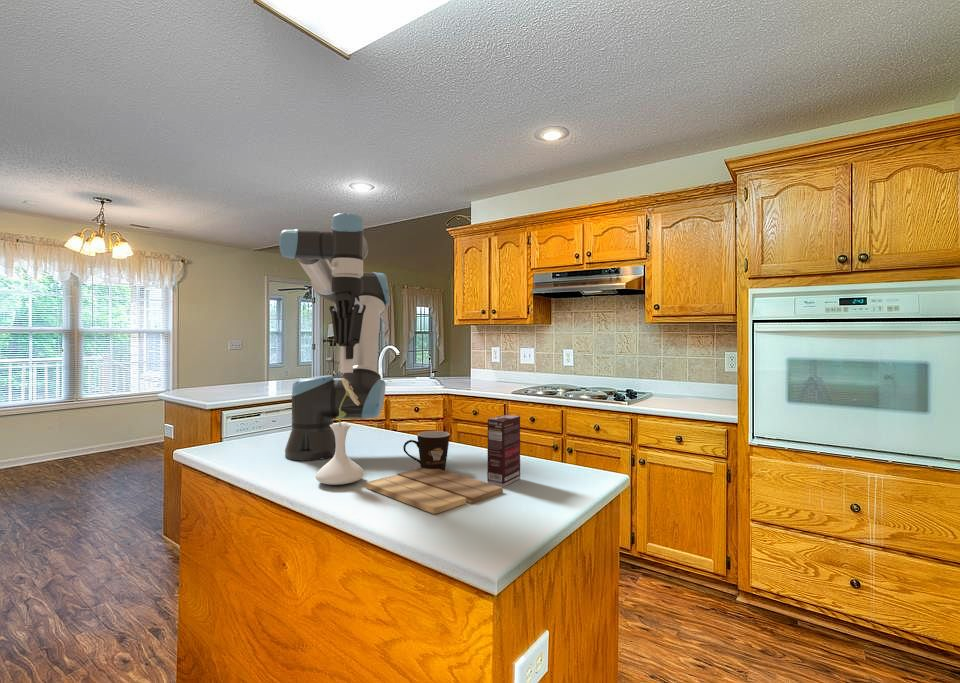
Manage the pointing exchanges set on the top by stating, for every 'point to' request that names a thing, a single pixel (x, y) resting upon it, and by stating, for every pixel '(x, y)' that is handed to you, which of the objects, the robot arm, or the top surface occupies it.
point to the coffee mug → (431, 449)
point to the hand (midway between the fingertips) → (346, 372)
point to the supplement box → (503, 450)
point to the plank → (416, 493)
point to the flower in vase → (341, 452)
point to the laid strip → (454, 483)
